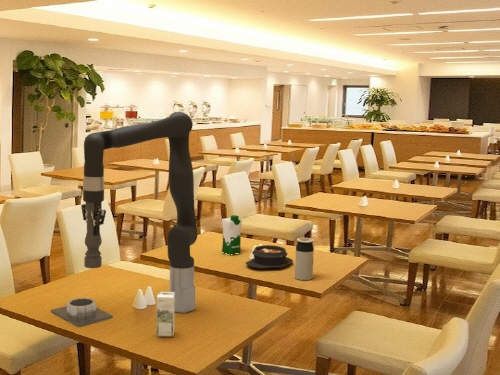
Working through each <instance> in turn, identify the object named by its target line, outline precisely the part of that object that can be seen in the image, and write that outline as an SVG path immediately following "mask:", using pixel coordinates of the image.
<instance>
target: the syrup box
mask: <svg viewBox="0 0 500 375" xmlns="http://www.w3.org/2000/svg"><path fill="white" fill-rule="evenodd" d="M174 311H175V292H170V291H158V293H157V296H156V337H159V338H160V337H161V338H164V337H165V338H169V337H170V338H172V337H174V333H175V312H174Z"/></svg>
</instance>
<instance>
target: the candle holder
mask: <svg viewBox="0 0 500 375" xmlns="http://www.w3.org/2000/svg"><path fill="white" fill-rule="evenodd" d="M85 204H86V211H87V213H88V215H87V216H86V218H87V219H88V229H87V228H86V235H85V238H84V245H85V247H86V249H87V250H86V252H85V253H84V254H85V256H84V257H83V258H84V267H85V268H87V269H99V268H101V267H102V264H103V262H102V260H103V259H102V258H103V257H102V256H101V255H102V253H101V251H100V250H99V249H100V246H101V245H102V242H103V240H102V236H101V233H100V234H99V235H97V236H94V235H93V226H94V225H93V220H92V217H91V213H92V212H91V210H93V212H94V202H92V203H89V202H85ZM102 204H103V203H102V202H101V207H102ZM94 217H97V216H94ZM96 220H97V219H96Z"/></svg>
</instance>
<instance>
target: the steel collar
mask: <svg viewBox="0 0 500 375" xmlns="http://www.w3.org/2000/svg"><path fill="white" fill-rule="evenodd" d="M50 313H52V314H54V315H56V316H58V317H59V318H61V319H63V320H65V321H67V322H68V321H69V322H68V323H70V322H71V324H72V325H74V326H76V327H77V328H81V327H83V326H84V327H85V326H89V325H91V324H96V323H99V322H102V321H105V320H106V321H107V320H110V319H113V318H114V315H113V314H111V313H109V312H106V311H104V310H102V309H100V308H98V307H97V300H96V299H94V298H91V297H77V298H76V297H75V298H72V299H69V300H67V301H66V306H60V307H57V308H54V309H50Z"/></svg>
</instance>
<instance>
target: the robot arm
mask: <svg viewBox="0 0 500 375" xmlns="http://www.w3.org/2000/svg"><path fill="white" fill-rule="evenodd" d="M192 130H193V121H192V118H191V117H190V116H189V115H188V114H187V113H185V112H182V111H175V112H172V113H171V114H170V115H168V116H167V117H165V118H162V119H159V120H156V121H151V122H146V123H138V124H132V125H131V124H130V125H127V126H121V127H117V128H113V129H110V130H102V131H96V132H92V133H89V134H88V135H86V136H85V139H84V140H83V158H84V163H83V164H84V165H83V180H82V201H83V202H84V204H81V205H80V207H81V213H82V219H83V221H85V223H86V230H87V229H88V219H87V218H86V216H87V215H88V213H87V211H86V202H89V203H92V202H94V212H93V210H91V212H92V213H91V217H92V220H93V225H94V226H93V235H94V236H97V235H99V234H100V235H101V231H100V227H101V225H104V224H105V222H104V221H105V218H106V213H107V210H106V209H103V208H102V207H101V202H104V201H105V178H104V172H105V170H104V169H105V167H104V152H105V150H110V149H114V148H115V149H120V148H124V147H128V146H133V145H136V144H140V143H144V142H148V141H151V140H152V141H153V140H157V139H164V138H165V139H166V138H168V147H169V156H168V157H169V158H168V159H169V160H168V186H169V188H168V189H169V193H170V196H171V198H172V200H173V203H174V205H175V208H176V214H177V215H176V217H177V218H176V219H177V220H176V225H175V226H173V227H171V228H170V229H169V230H168V234H167V242H166V243H167V259H168V261H169V292H175V311H174V313H180V314H186V313H188V312H192V311H194V310H196V286H195V259H194V257H193V256H191V246H192V245H194V244H195V243H196V241H197V239H198V233H199V232H198V226H197V225H198V224H197V219H196V211H195V187H194V185H195V183H194V182H195V181H194V179H195V178H194V167H193V162H192V159H191V153H190V133H191V131H192ZM94 216H97V217H94ZM96 219H97V220H96Z"/></svg>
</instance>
